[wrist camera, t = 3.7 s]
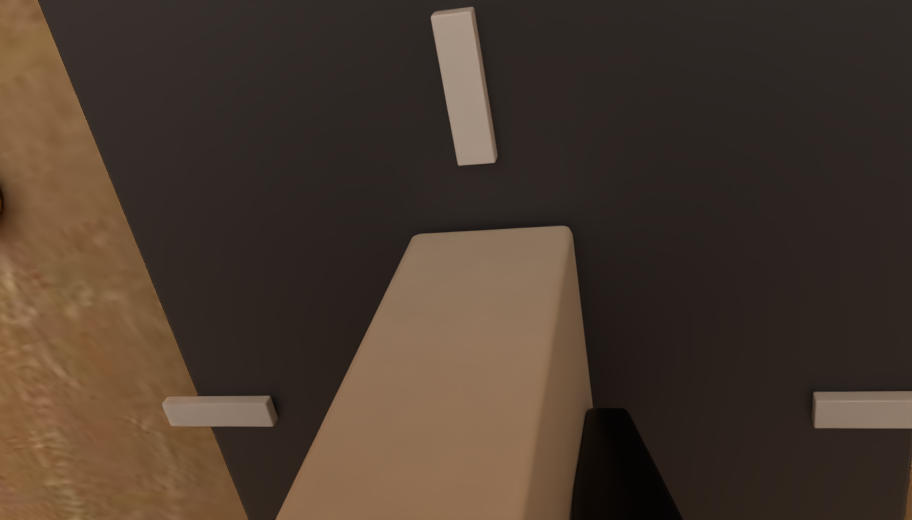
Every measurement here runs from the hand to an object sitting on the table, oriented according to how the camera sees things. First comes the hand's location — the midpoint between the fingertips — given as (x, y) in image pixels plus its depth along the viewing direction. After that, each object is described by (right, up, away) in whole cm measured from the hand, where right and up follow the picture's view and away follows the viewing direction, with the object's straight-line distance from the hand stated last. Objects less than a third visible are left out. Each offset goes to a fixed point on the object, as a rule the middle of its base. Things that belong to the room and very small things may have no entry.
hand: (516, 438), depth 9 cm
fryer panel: (+1, +2, +3) cm, 4 cm away
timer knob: (0, 0, 0) cm, 0 cm away
